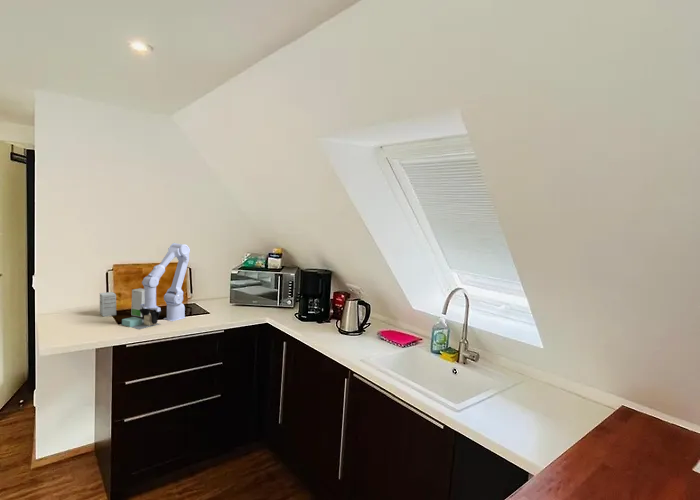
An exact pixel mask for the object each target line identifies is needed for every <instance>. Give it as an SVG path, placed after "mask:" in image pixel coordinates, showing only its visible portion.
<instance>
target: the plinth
mask: <svg viewBox="0 0 700 500" xmlns="http://www.w3.org/2000/svg"><path fill="white" fill-rule="evenodd" d="M142 319H143V318H142V317H138V316H131V317H126V318H122V319H121V324H122V325H121V326H124V325H125V326H124V327H128V328H131V327H132V326H137V325H141V324H142Z"/></svg>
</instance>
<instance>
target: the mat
mask: <svg viewBox="0 0 700 500" xmlns="http://www.w3.org/2000/svg"><path fill="white" fill-rule="evenodd" d="M141 319H142V324H141V325H137V326H132V327H130V328H131V329H135V330H143V329H147V328H151V327H155V326H160V325H161V323H158V322H157V324H155V325H151V326H148V325H144V320H143V318H141ZM120 325H121V326H123V327H126V326H125V325H122V323H120Z"/></svg>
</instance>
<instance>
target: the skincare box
mask: <svg viewBox="0 0 700 500" xmlns="http://www.w3.org/2000/svg"><path fill="white" fill-rule="evenodd" d="M140 304H145V289H144V288H142V287H139V288H134V289H131V310H130V311H131V312H130V314H131V316H132V317H137V318H143V316H142V314H141V312H140V309H142V308H140ZM150 312H151V311H150ZM150 312H149V314H150Z"/></svg>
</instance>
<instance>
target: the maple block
mask: <svg viewBox="0 0 700 500" xmlns="http://www.w3.org/2000/svg"><path fill="white" fill-rule="evenodd" d="M157 323H158V322H157ZM157 323H156V324H157ZM144 325H148V326H151V325H155V324H153V323H152V317H151V314H149V315H144Z"/></svg>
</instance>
